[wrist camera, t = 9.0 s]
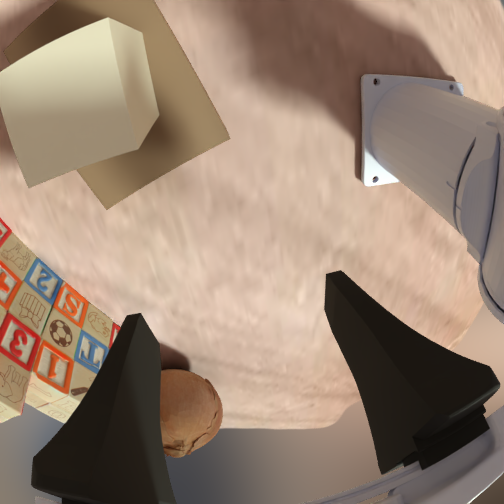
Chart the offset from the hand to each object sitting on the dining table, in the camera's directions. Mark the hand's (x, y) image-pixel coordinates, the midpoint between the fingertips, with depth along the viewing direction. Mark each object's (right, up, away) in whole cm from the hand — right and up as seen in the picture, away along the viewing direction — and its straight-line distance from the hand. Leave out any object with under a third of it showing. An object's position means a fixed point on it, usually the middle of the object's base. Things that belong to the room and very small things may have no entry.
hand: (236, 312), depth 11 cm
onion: (-8, -11, +19) cm, 23 cm away
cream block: (-6, +10, 0) cm, 12 cm away
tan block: (-7, +12, +3) cm, 14 cm away
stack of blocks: (-18, 0, +9) cm, 20 cm away
